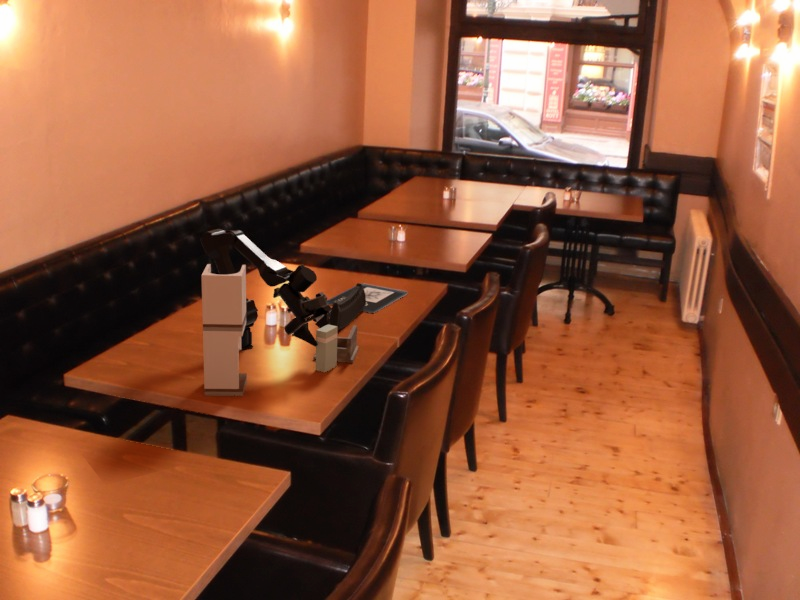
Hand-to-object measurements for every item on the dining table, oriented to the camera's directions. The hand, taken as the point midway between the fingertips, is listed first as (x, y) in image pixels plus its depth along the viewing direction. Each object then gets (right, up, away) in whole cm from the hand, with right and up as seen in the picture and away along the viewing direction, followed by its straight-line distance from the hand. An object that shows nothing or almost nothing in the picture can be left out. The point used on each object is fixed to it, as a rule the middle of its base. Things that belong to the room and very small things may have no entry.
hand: (324, 341), depth 259 cm
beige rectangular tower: (-27, -13, -15) cm, 33 cm away
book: (0, -8, +2) cm, 9 cm away
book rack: (+3, -5, +14) cm, 15 cm away
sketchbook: (+10, +12, +73) cm, 75 cm away
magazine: (+4, +5, +46) cm, 47 cm away
